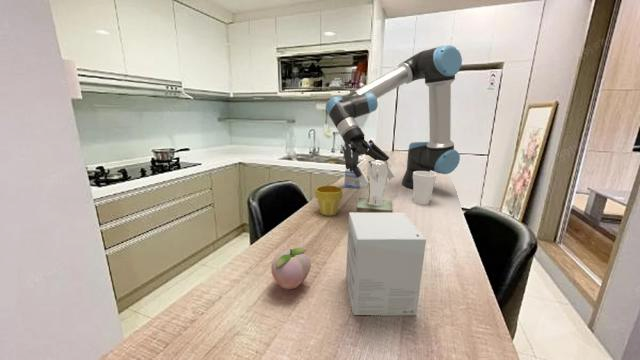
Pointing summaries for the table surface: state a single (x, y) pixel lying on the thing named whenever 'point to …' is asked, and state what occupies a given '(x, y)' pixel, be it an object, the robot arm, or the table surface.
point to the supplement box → (384, 264)
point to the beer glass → (376, 181)
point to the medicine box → (351, 180)
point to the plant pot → (328, 199)
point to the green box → (374, 207)
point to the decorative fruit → (291, 268)
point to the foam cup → (423, 186)
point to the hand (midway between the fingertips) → (379, 181)
